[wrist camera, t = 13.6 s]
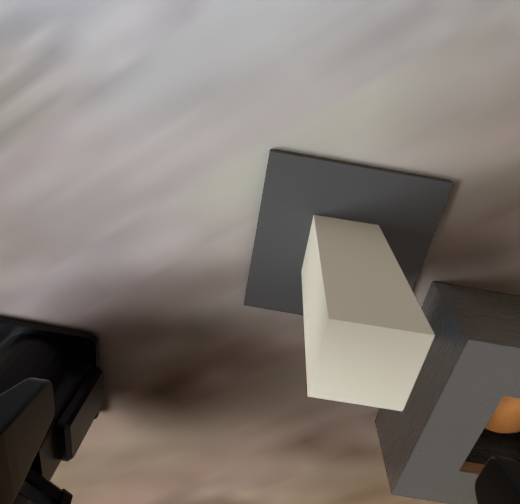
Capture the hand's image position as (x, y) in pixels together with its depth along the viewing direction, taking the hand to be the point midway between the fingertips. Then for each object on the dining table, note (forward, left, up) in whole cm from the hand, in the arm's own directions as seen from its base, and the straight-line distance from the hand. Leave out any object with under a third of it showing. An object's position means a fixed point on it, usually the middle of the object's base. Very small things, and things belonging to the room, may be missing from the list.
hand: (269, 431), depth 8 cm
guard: (+13, -7, -12) cm, 19 cm away
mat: (+3, -1, -12) cm, 12 cm away
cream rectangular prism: (+3, -1, -12) cm, 12 cm away
